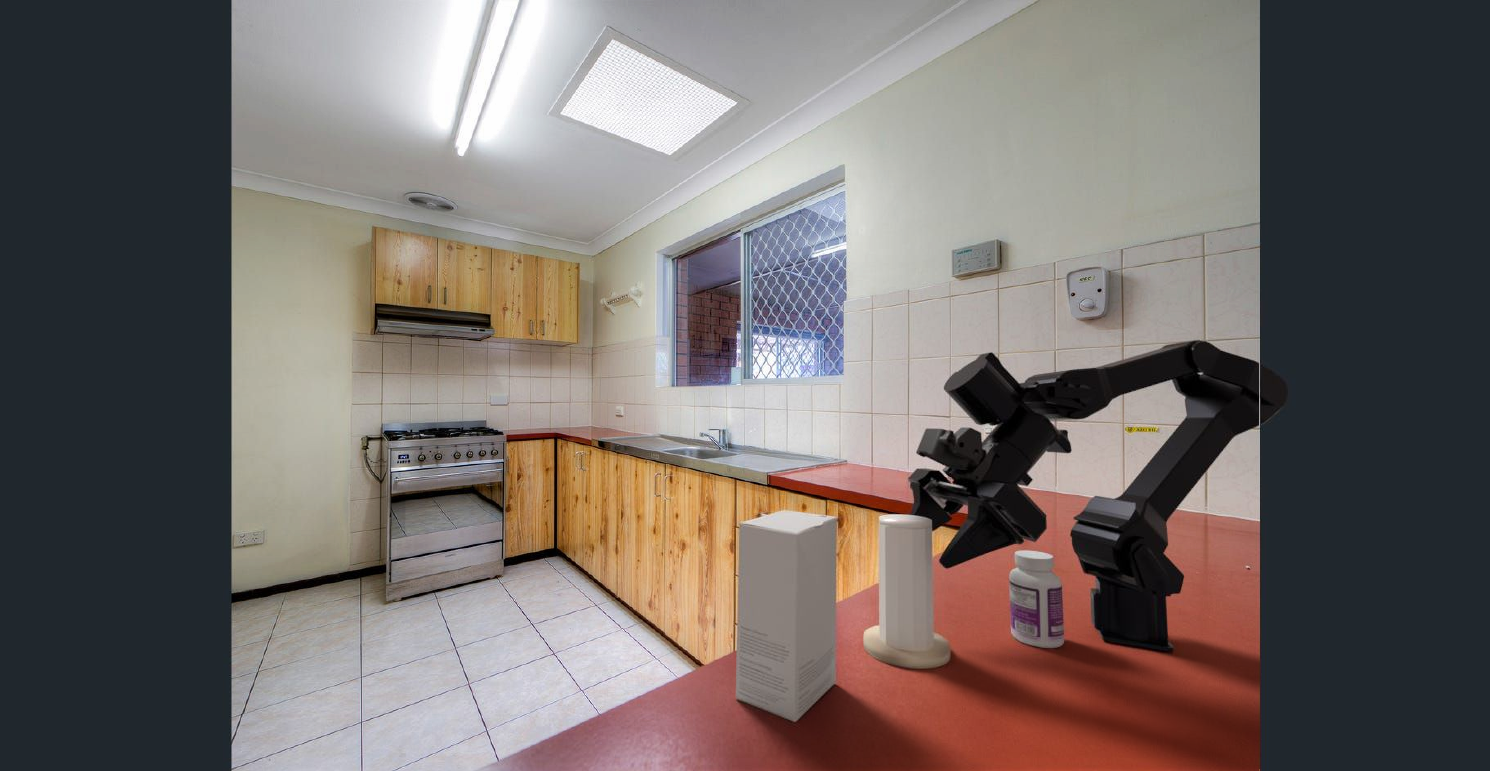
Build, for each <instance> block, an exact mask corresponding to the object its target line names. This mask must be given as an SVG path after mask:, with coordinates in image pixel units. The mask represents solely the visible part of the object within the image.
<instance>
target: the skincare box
mask: <svg viewBox="0 0 1490 771" xmlns="http://www.w3.org/2000/svg"><path fill="white" fill-rule="evenodd" d="M738 532H739V533H738V568H737V569H738V570H737V571H738V572H737V573H738V578H737V613H736V614H737V617H736V618H737V619H736V620H737V622H736V627H737V628H736V663H735V664H736V666H735V667H736V668H735V672H736V673H735V699H736V700H738V701H740V702H744V703H746V704H749V705H751V706H753V707H756V708H757V709H761V710H764V711H765V712H768V713H771V714H772V715H773V714H774V715H776V716H779V717H782V718H783V719H786V720H789V721H791V722H793V723H796V722H798V720H799V719H800V718H801V717H803V715H804V714H805V713H806V712H807V711H808V710H809V709H811V708H812V707H813V705H814V704H816V702H817V701H819V700H820V699H821V697H822V696H824V695H825V693H827V692H828V691H829V690H830V689H831V688H832V687H833V686H834V685H835V684H836V682H837V679H836V678H837V675H836V674H837V672H836V670H837V669H836V668H837V666H836V664H837V661H836V660H837V654H836V653H837V650H836V649H837V636H836V635H837V557H838V556H837V555H838V554H837V553H838V552H837V549H838V548H837V547H838V546H837V545H838V541H837V540H838V536H837V535H838V517H837V516H833V515H825V514H819V513H818V514H817V513H809V512H803V511H802V512H801V511H794V510H787V509H783V510H778V511H776V512H772V513H770V514H767V515H763V516H760V517H755V518H752V519H749V520H744V521H741V522H739V523H738Z"/></svg>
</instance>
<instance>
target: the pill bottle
mask: <svg viewBox="0 0 1490 771" xmlns="http://www.w3.org/2000/svg"><path fill="white" fill-rule="evenodd" d="M1054 559H1055V558H1054V556H1053V555H1052V554H1049V553H1046V552H1042V551H1036V550H1016V551H1015V552H1014V563H1015V566H1017V567H1015V568H1013V569H1012V570H1011V571H1010V573H1009V576H1008V577H1009V578H1008V581H1009V584H1008V585H1009V587H1008V588H1009V612H1010V613H1009V614H1010V615H1009V616H1010V617H1009V618H1010V632H1011V635H1012V636H1013V638H1014V639H1016V641H1018V642H1021V643H1022V644H1025V645H1029V646H1033V647H1038V648H1041V649H1055V648H1059V647H1060V648H1061V646H1063V645H1064V643H1065V629H1064V628H1065V624H1064V603H1063V601H1064V600H1063V598H1064V597H1063V584H1062V580H1061V579H1060V577H1059V576H1058V575H1057V574H1056V573H1055V572H1053V571H1054V568H1055V560H1054Z"/></svg>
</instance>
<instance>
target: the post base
mask: <svg viewBox="0 0 1490 771" xmlns="http://www.w3.org/2000/svg"><path fill="white" fill-rule="evenodd" d="M863 648H864V650H865V652H866V653H867V654H868V655H870V656H871V657H873V658H874V659H876V660H879V661H881V662H883V663H886V664H889V665H893V666H895V667H896V666H897V667H900V668H905V669H916V670H918V669H919V670H920V669H921V670H925V669H926V670H927V669H928V670H929V669H935V668H939V667H942V666H945V665H946V664H948V663H949V661H950V660H951V644H950V642H949V641H948V640H947V639H946V638H945V637H944V636H942V635H941V634H938V633H937V632H934V647H932V648H930V649H928V650H924V651H907V650H900V649H896V648H894V647H891V646H888V645H886V644H885V643H884V642H882V641H881V640H880V639H879V624H877V625H874V626H870V627H869V628H867V629H866V630H865V631H864V632H863Z"/></svg>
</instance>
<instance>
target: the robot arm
mask: <svg viewBox="0 0 1490 771" xmlns="http://www.w3.org/2000/svg"><path fill="white" fill-rule="evenodd" d="M1200 373H1202V374H1200ZM1015 378H1016V377H1015ZM1015 378H1014V376H1013V375H1012V374H1011V373H1010V372H1009V371H1008V369H1007V368H1005V367H1004V366H1003V364H1002V363H1001V360H1000V359H999V357H998V356H996V355H995V354H994V353H993V352H986V353H982V354H979V355H978V357H977V358H976V359H975V360H973V361H971V362H969V363H968V364H966V365H965V366H963V367H961V368H960V369H959V370H958V371H955V372H953V373H952V374H951V376H949V378H948V379H947V380H946V381H945V383H944V386H943V391H945V392H946V393H947V395H949V397H950V398H951V399H953V401H954V402H955V403H956V404H957V405H958V406H959V407H960V409H962V410H963V411H964V412H965V413H966V415H967V416H969V417H970V419H971V421H973V422H974V423H975V424H976V425H978V426H984V425H990V426H992V427H993V426H995V427H994V428H993V429H992V431H991V432H990V433H989V434H988V435H987V436H986V437H985V438H984V439H982V432H981V431H978V430H977V429H975V428H973V427H960V428H958V430H956V431H955V432H954V431H953V430H951V429H948V430H947V429H944V428H932V427H931V428H925V429H924V430H925V431H924V432H923V435H922V437H921V439H920V442H919V444H918V447H917V450H916V452H915V453H916V455H918V456H920V457H922V458H928V459H929V460H932V461H934V462H936V463H937V464H940V465H942V466H944V467H943V469H942V472H943V473H944V474H945V475H946V476H947V477H948V478H950V479H952V481H950V480H949V479H948V478H947V477H946V476H945V475H944V474H943V473H942V472H941V471H940V470H938V469H930V468H926V467H925V468H916V469H915V470H914V471H913V472H912V473H911V475H909V476H908V477H907V480H908V482H909V488H910V489H911V491H912V497H913V504H912V506H911V509H910V512H909V514H908V515H914V516H921V517H926V518H929V519H931V520H932V533H934V531H936V530H937V529H939V528H940V527H943V526H944V525H946V524H948V523H949V522H950V521H952V520H953V517H952V515H954V514H956V513H958V512H959V511H961V509H962V508H963V506H966V507H967V515H966V516H967V517H966V519H965V520H964V522H963V523H962V524H961V526H960V528H959V529H958V530H957V531H956V534H955V535H954V536H953V538H952V539H951V540H950V542H949V543H948V545H947V546H946V547H945V549H944V551H943V552H942V554H941V556H940V557H939V560H938V562H939V564H940V565H941V566H942V567H943V568H944V569H948V570H949V569H951V568H953V567H956V566H959V565H961V564H963V563H966V562H969V561H971V560H973V559H977V558H978V557H981V556H983V555H986V554H989V553H992V552H995V551H998V550H1002V549H1004V548H1007V547H1010V546H1012V545H1013V546H1014V545H1022V544H1024V542H1025V540H1027V541H1030V542H1033V543H1036V542H1037V541H1038V540H1039V539H1040V537H1041V536H1042V535H1043V534H1044V532H1045V531H1047V529H1048V526H1047V525H1048V524H1047V522H1048V521H1047V514H1046V513H1045V512H1044V511H1043V510H1042V509H1041V508H1040V507H1039V506H1038V505H1037V503H1036V502H1034V500H1033V499H1032V498H1031V497H1030V496H1029V495H1028V494H1027V493H1026V492H1025V491H1024V489H1023V488H1021V487H1020V486H1023V487H1024V486H1025V487H1028V486H1029V485H1030V484H1031V483H1032V482H1033V481H1034V479H1033V478H1032V477H1031V476H1030V475H1029V472H1030V470H1032V469H1033V467H1034V466H1035V465H1036V464H1037V462H1038V461H1039V460H1040V459H1041V458H1042V457H1043V455H1044V454H1045V453H1046V452H1047V453H1056V454H1057V453H1058V454H1059V453H1060V454H1071V453H1072V444H1071V441H1070V440H1069V437H1068V434H1069V432H1068V430H1067V429H1059V428H1057V427H1056V426H1055V425H1054V424H1053V423H1052V422H1051V421H1063V420H1065V421H1070V420H1071V421H1073V420H1085V419H1086V418H1089V417H1091V416H1092V415H1094V414H1096V413H1098V412H1100V411H1102V410H1103V409H1105V408H1107V407H1108V406H1109V405H1110V404H1111V402H1112V400H1114V399H1116V398H1118V397H1121V396H1122V395H1126V394H1129V393H1132V392H1137V391H1139V390H1143V389H1147V388H1149V387H1152V386H1155V385H1159V384H1162V383H1165V382H1169V381H1172V383H1173V386H1174V388H1175V391H1176V392H1177V393H1179V394H1180V395H1181V396H1183V397H1185V399H1184V407H1185V411H1186V412H1185V413H1186V416H1185V417H1184V418H1183V420H1182V421H1181V423H1179V425H1178V427H1176V429H1175V430H1174V431H1173V432H1172V433H1171V435H1170V436H1169V437H1167V439H1166V441H1165V442H1164V443H1163V445H1161V447H1160V448H1159V449H1158V450H1157V452H1156V453H1154V455H1153V457H1152V458H1150V460H1149V461H1148V462H1147V464H1146V465H1145V467H1143V469H1142V470H1141V471H1140V472H1139V473H1138V474H1137V476H1136V477H1135V478H1134V479H1133V481H1132V482H1131V483H1130V484H1129V486H1128V487H1127V488H1126V489H1125V490H1124V491H1123V493H1122V494H1120V495H1119V496H1117V497H1116V498H1115V497H1114V498H1111V497H1105V496H1100V495H1099V496H1098V495H1095V496H1093V497H1092V498H1091V499H1089V501H1088V502H1087V504H1086V506H1085V508H1084V509H1083V510H1082V511H1081V512H1080V513H1079V514H1077V515H1075V516H1073V520H1074V521H1076V522H1074V525H1073V527H1072V528H1071V530H1070V535H1069V536H1070V537H1071V545H1072V549H1073V552H1074V553H1075V554H1076V557H1077V558H1078V561H1079V564H1080V566H1081V569H1082V572H1083V574H1085V575H1090V576H1094V577H1095V580H1094V581H1095V588H1094V587H1092V588H1090V590H1089V592H1090V594H1089V595H1090V596H1089V597H1090V618H1091V620H1090V621H1091V623H1092V626H1093V627H1094V629H1095V630H1097V632H1098V633H1099V635H1100V638H1101V639H1102V640H1103V641H1106V642H1110V643H1116V644H1123V645H1127V646H1128V645H1129V646H1134V647H1139V648H1147V649H1153V650H1159V651H1165V652H1172V653H1173V652H1174V650H1175V648H1174V646H1173V644H1172V643H1171V642H1170V641H1169V634H1168V633H1169V628H1168V610H1167V598H1168V597H1171V596H1172V595H1178V594H1181V592H1182V587H1183V584H1184V579H1185V575H1184V574H1183V572H1182V571H1181V570H1180V569H1179V567H1177V566H1176V565H1175V564H1174V563H1173V562H1172V560H1171V559H1170V558H1169V557H1168V556H1167V555H1166V554H1165V552H1166V550H1167V548H1168V546H1169V538H1168V536H1169V535H1168V528H1167V526H1168V525H1167V524H1168V523H1167V522H1168V520H1169V519H1170V517H1172V515H1173V514H1174V512H1175V511H1176V510H1177V509H1178V507H1179V506H1180V505H1181V504H1182V502H1183V501H1184V500H1185V499H1186V498H1187V496H1188V495H1189V494H1190V492H1191V491H1193V488H1194V487H1195V486H1196V485H1197V484H1198V483H1199V482H1200V481H1201V479H1202V478H1203V476H1204V475H1205V473H1207V471H1208V470H1209V468H1210V467H1212V465H1213V464H1214V463H1215V461H1216V460H1217V459H1218V458H1219V456H1220V455H1221V454H1222V452H1223V451H1224V450H1225V448H1226V447H1227V446H1228V445H1229V443H1231V441H1232V440H1233V439H1234V438H1235V437H1236V436H1239V435H1241V434H1243V433H1245V432H1248V431H1251V430H1253V429H1254V428H1257V427H1259V361H1256V360H1254V359H1251V358H1247V357H1245V356H1244V357H1243V356H1241V355H1237V354H1234V353H1230V352H1228V351H1224V350H1221V349H1220V348H1218V347H1217V346H1215V345H1213V343H1211V342H1208V341H1206V340H1200V339H1195V340H1194V339H1193V340H1188V341H1181V342H1175V343H1170V344H1166V345H1163V346H1162V347H1161V348H1158V349H1155V350H1151V351H1148V352H1145V353H1141V354H1138V355H1134V356H1131V357H1127V358H1124V359H1121V360H1117V361H1114V362H1110V363H1107V364H1103V365H1100V366H1096V367H1087V368H1077V369H1075V368H1074V369H1068V370H1067V369H1066V370H1061V371H1060V370H1059V371H1052V372H1045V373H1039V374H1038V373H1037V374H1034V375H1031V376H1030V377H1027V379H1026V380H1025V381H1024V382H1020V383H1019V381H1018V380H1017V379H1015ZM1260 389H1261V392H1260V398H1261V425H1260V426H1262V425H1265V423H1267V422H1268V421H1270V419H1271V418H1272V417H1274V416H1275V415H1276V414H1277V413H1279V412H1280V411H1281V409H1283V407H1284V406H1285V403H1286V402H1287V398H1288V393H1289V391H1288V385H1287V383H1286V381H1285V380H1284V379H1283V378H1282V377H1281V376H1279V375H1278V374H1277V373H1276V372H1274V371H1273V370H1271V369H1270V368H1268V367H1266V366H1264V365H1263V364H1261V379H1260ZM982 440H983V441H982Z"/></svg>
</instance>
